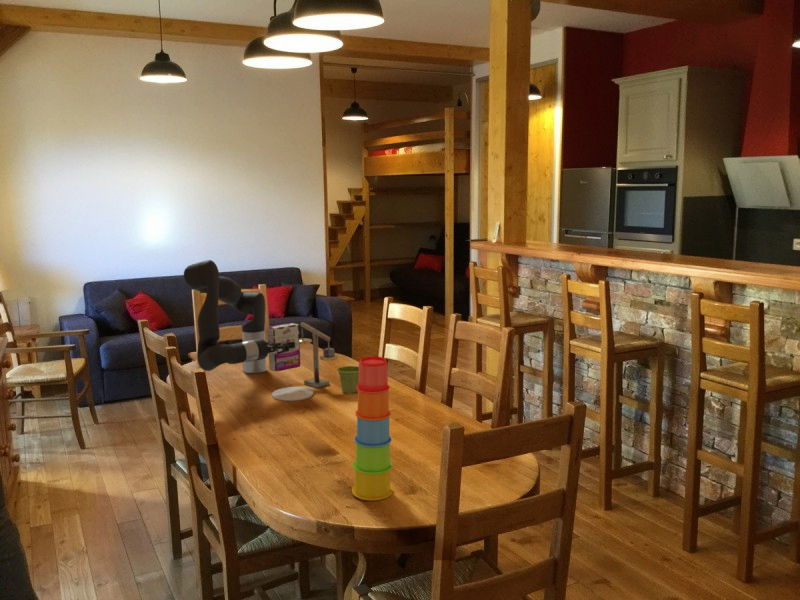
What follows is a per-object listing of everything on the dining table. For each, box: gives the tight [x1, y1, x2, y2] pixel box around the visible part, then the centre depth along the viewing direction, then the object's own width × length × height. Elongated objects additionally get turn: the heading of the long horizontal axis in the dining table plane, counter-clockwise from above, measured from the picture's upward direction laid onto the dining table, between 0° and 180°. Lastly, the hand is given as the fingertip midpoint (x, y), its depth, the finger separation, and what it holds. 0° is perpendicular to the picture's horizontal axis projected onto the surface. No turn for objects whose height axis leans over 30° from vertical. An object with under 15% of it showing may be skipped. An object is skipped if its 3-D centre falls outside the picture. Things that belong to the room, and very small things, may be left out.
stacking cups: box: [351, 355, 394, 502], centre depth 178 cm, size 10×10×35 cm
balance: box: [299, 321, 339, 389], centre depth 278 cm, size 22×7×24 cm, turn 47°
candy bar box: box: [266, 322, 301, 372], centre depth 269 cm, size 11×5×16 cm, turn 132°
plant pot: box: [337, 365, 359, 395], centre depth 269 cm, size 9×9×9 cm
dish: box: [271, 386, 314, 402], centre depth 266 cm, size 15×15×1 cm
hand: (289, 343), depth 271 cm, fingers closed on candy bar box, 5 cm apart
